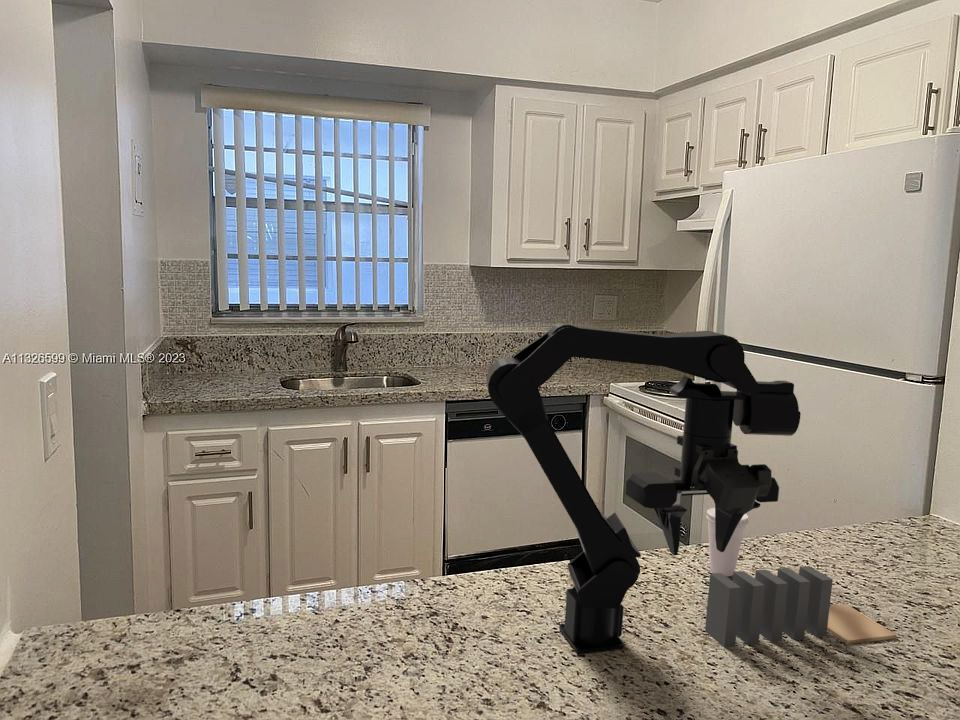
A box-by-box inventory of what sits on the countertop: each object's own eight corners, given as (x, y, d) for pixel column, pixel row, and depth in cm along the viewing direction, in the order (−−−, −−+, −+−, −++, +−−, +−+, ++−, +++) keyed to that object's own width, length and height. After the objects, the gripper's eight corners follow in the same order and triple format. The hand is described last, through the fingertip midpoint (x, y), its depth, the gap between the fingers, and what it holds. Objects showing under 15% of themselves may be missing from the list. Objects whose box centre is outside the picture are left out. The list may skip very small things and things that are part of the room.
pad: (846, 644, 95) (847, 640, 95) (799, 611, 103) (800, 608, 103) (896, 638, 97) (896, 634, 97) (845, 607, 106) (846, 604, 106)
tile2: (747, 645, 94) (753, 586, 93) (727, 628, 98) (733, 571, 97) (758, 643, 94) (764, 585, 93) (738, 627, 98) (743, 571, 97)
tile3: (771, 642, 94) (777, 584, 93) (750, 626, 99) (755, 570, 98) (781, 641, 95) (787, 583, 94) (760, 625, 99) (765, 569, 98)
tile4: (793, 640, 95) (800, 582, 94) (772, 623, 100) (777, 568, 99) (804, 638, 96) (810, 581, 95) (782, 622, 100) (787, 567, 99)
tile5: (816, 637, 96) (822, 580, 95) (793, 621, 101) (799, 566, 100) (826, 636, 97) (832, 579, 96) (803, 620, 101) (809, 565, 100)
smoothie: (697, 573, 115) (705, 488, 113) (705, 560, 121) (712, 478, 119) (740, 583, 112) (748, 496, 110) (745, 569, 118) (753, 485, 116)
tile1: (724, 647, 93) (729, 588, 92) (705, 630, 97) (710, 573, 96) (735, 646, 93) (740, 587, 92) (715, 629, 97) (720, 572, 96)
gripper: (674, 451, 80) (663, 585, 82) (815, 447, 85) (802, 573, 87) (627, 428, 91) (619, 548, 93) (756, 425, 96) (745, 539, 98)
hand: (697, 552), depth 92 cm, fingers open, 6 cm apart
